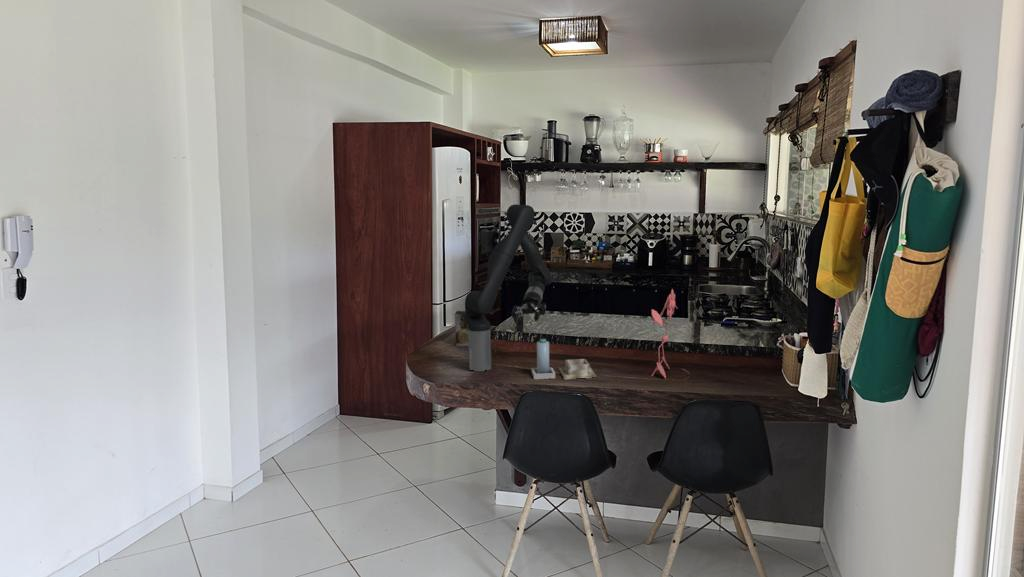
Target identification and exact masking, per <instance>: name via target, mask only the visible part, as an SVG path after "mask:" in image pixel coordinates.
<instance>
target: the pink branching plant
mask: <svg viewBox="0 0 1024 577" xmlns="http://www.w3.org/2000/svg"><path fill="white" fill-rule="evenodd" d="M675 308H676V309H677V310H678V309H679V308H678V306H677V305H676V293H675V291H674V289H673V288H672V289H671V291H670V294H668V296H667V298H666V301H665V302H664V306H663V309H662V310H661V312H660V313H658V311H657V310H655V309H653V308H652V309H651V310H650V311H651V317H652V322H653V324H656V323H657V324H658V325H659V326H660V327H662V326H663V324H665V335H663V336H661V344H660V345H659V347H658V361H657V362H656V367H655V369H654V370H653V372H652V374H651V377H653V376H654V375H655V373H656V372H657V371H659V373H660V375H661V376H663V377H664V379H667V376H666V371H665V369H664V367H663V365H662V363H663V362H664V365H666V367H667V369H668V370H670V366H669V364H668V363H667V361H666V358H665V353H664V343H667V342H668V341H669V337H668V336H667V333H668V327H669V326H668V325H669V324H668V323H667V322H666V321H665V320H664V319H663V318H662V316H663V314H664V312H665V310H666V309H667V310H666V316H667V317H668V320H669V321H671V320H672V316H673V315H674V312H675ZM660 348H662V356H661V361H660ZM682 370H684V371H685V372H687V373H690V372H689V371H687V369H684V368H682ZM688 378H689V376H687V377H685V378H684V380H686V379H688ZM646 380H648V381H650V379H649V378H646Z"/></svg>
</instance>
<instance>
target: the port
mask: <svg viewBox="0 0 1024 577" xmlns="http://www.w3.org/2000/svg"><path fill="white" fill-rule="evenodd" d="M558 371H559V373H560V372H561V373H560V375H561V374H562V375H561V377H562V376H563V377H562V379H563V380H577V379H576V378H586V379H593V378H592V377H596V378H597V375H596V373H595V372H594V370H593V369H592V367H591V364H590V363H589V362H588V360H587V359H586V358H580V359H578V358H575V359H565V360H564V367H559V368H558Z"/></svg>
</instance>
